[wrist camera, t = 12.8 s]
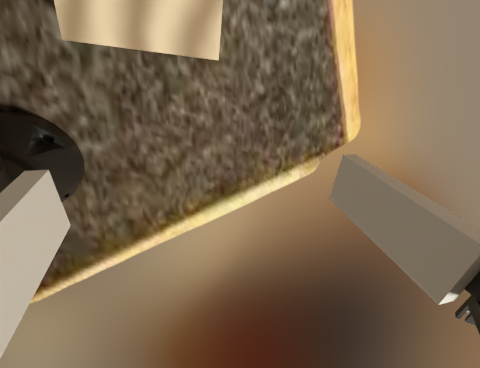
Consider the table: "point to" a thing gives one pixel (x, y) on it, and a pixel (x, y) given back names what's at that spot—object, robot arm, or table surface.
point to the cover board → (145, 25)
